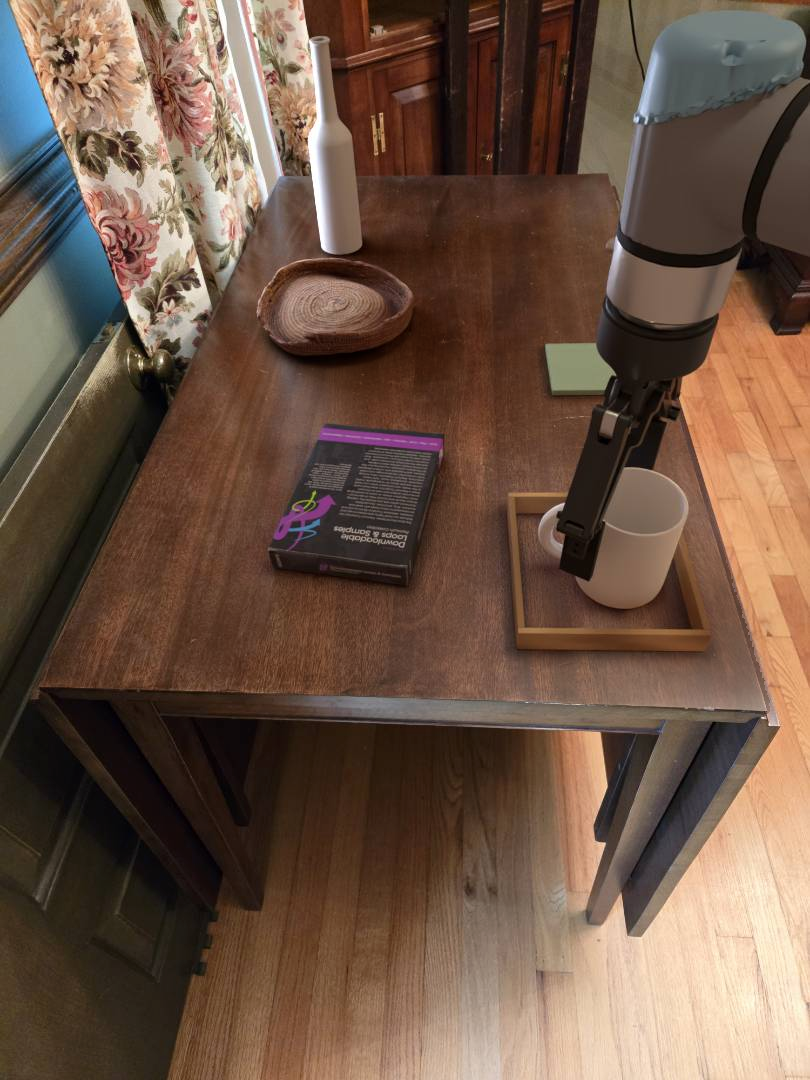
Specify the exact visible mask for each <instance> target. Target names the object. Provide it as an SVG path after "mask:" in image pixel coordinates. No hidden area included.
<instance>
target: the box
mask: <svg viewBox="0 0 810 1080" xmlns="http://www.w3.org/2000/svg"><path fill="white" fill-rule="evenodd" d="M444 455H445V433H443V432H428V431H427V432H426V431H416V430H415V431H414V430H402V429H391V428H382V427H369V426H358V425H356V426H355V425H348V424H347V425H346V424H337V423H329V422H326V423H325V422H324V423H323V425H322V427H321V430H320V433H319V435H318V437H317V439H316V441H315V443H314V446H313V448H312V450H311V453H310V455H309V456H308V459H307V461H306V464H305V465H304V468H303V470H302V473H301V475H300V476H299V479H298V481H297V483H296V485H295V488H294V489H293V492H292V495H291V497H290V499H289V501H288V503H287V505H286V508H285V510H284V513H283V514H282V517H281V519H280V521H279V523H278V525H277V528H276V530H275V532H274V534H273V537H272V538H271V540H270V543H269V545H268V547H267V553H268V556H269V559H270V562H271V565H272V567H273V568H274V569H280V570H281V569H282V570H287V571H297V572H305V573H312V574H320V575H327V576H335V577H341V578H349V579H356V580H364V581H372V582H379V583H387V584H393V585H400V586H408V585H409V583H410V579H411V575H412V572H413V569H414V565H415V561H416V557H417V555H418V551H419V546H420V543H421V539H422V536H423V531H424V527H425V525H426V522H427V517H428V515H429V510H430V507H431V503H432V499H433V496H434V492H435V489H436V485H437V481H438V477H439V472H440V469H441V465H442V462H443V458H444Z"/></svg>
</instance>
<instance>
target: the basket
mask: <svg viewBox="0 0 810 1080" xmlns="http://www.w3.org/2000/svg"><path fill="white" fill-rule="evenodd" d="M414 305H415V301H414V294H413V292H412V291H411V289H410V288H409V287H408V286H407V285H406V284H405V283H404V282H402V280H401V279H400V278H399V277H397V276H395V275H394V274H393V273H391V272H389V271H387V270H386V269H384V268H382V267H379V266H378V265H374V264H372V263H366V262H364V261H360V260H358V261H357V260H354V261H352V260H349V259H346V258H341V257H340V258H339V257H321V258H310V259H308V258H305V259H301V260H296V261H294V262H292V263H289V264H287V265H284V266H282V267H280V268H279V269H278V270H277V271H276V272H275V274H274V275H273V277H272V280H270V281H269V283H268V284H267V286H265V287H264V289H263V291H262V293H261V295H260V298H259V299H258V300H257V307H256V317H257V319H258V321H259V323H260V324H261V326H262V327H263V330H264V331H265V333H266V334H267V336H268V338H270V339H271V340H272V342H274V343H275V344H276V345H277V346H278V347H280V348H281V349H283V351H285V352H287V353H290V354H293V355H295V356H302V357H305V356H324V355H325V356H326V355H327V356H328V355H334V354H335V355H336V354H348V353H349V354H350V353H356V352H360V351H365V350H372V349H376V348H378V347H380V346H383V345H385V344H386V343H389V342H391V341H393V340H394V339H395V338H396V337H398V336H399V335H400V334H402V332H403V331H404V330H405V329H407V327H408V326H409V323H410V321H411V318H412V315H413V311H414V310H413V309H414Z"/></svg>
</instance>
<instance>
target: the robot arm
mask: <svg viewBox="0 0 810 1080" xmlns="http://www.w3.org/2000/svg"><path fill="white" fill-rule="evenodd" d="M806 47H807V38H806V35H805V31H804V30H803V29H802V26H800V25H799V24H798V23H796V22H794V21H793V20H789V19H786V18H785V19H783V18H779V17H778V15H775V14H771V13H767V12H766V13H765V12H760V11H751V10H736V9H735V10H733V9H732V10H712V11H703V12H697V13H692V14H689V15H686V16H684V17H682V18H680V19H678V20H674V21H673V22H671V23H669V24H668V25H667V26H666V27H665V28H664V29H663V30H662V31H661V32H660V33H659V35H658V36H657V37H656V40H655V41H654V44H653V46H652V49H651V53H650V58H649V62H648V65H647V70H646V74H645V78H644V83H643V86H642V89H641V90H642V91H641V94H640V99H639V103H638V107H637V110H636V112H635V113H634V114H633V122H632V123H633V124H635V125H634V131H633V138H632V143H631V149H630V153H629V154H630V155H629V160H628V167H627V174H626V179H625V186H624V190H623V191H624V192H623V197H622V202H621V209H620V216H619V217H618V222H617V227H616V234H615V237H610V238H609V240H608V241H607V243H606V244H605V251H606V252H607V253H608V254H610V255H612V258H611V264H610V265H609V266H610V267H609V271H608V277H607V282H606V291H605V292H606V296H604V298H603V301H602V304H601V310H600V317H599V322H598V326H597V332H596V337H595V343H596V347H597V350H598V353H599V354H600V356H601V358H602V359H603V360H604V361H605V362H606V363H607V364H608V365H609V366H610V367H611V368H612V369H613V371H614V372H615V374H616V376H615V375H612V376H611V377H610V379H609V381H608V384H607V386H606V389H605V391H604V395H603V396H604V401H603V403H602V404H601V403H597V404H596V405H595V407H594V408H593V409H592V411H591V414H590V415H591V417H590V423H589V426H588V431H587V433H586V434H587V435H586V437H585V441H584V444H583V447H582V450H581V453H580V455H579V459H578V462H577V464H576V469H575V471H574V474H573V477H572V481H571V483H570V486H569V490H568V492H567V493H568V495H567V498H566V501H565V504H564V507H563V510H561V511H557V515H556V518H558V519H559V521H558V523H557V524H556V527H555V529H556V532H558V533H561V534H563V535H564V539H563V542H562V543H563V544H562V545H563V548H562V554H561V559H559V564H558V570H560V571H563V572H565V573H567V574H569V575H572V576H574V577H575V576H576V577H579V578H581V579H583V580H586V581H588V582H589V581H590V579H591V578H592V576H593V572H594V568H595V564H596V560H597V556H598V552H599V548H600V544H601V540H602V536H603V532H604V528H605V524H606V522H605V521H603V518H604V516H605V513H606V511H607V508H608V506H609V504H610V501H611V499H612V496H613V494H614V491H615V489H616V486H617V484H618V481H619V479H620V477H621V474H622V472H623V469H624V468H626V467H634V468H643V469H648V470H652V471H654V469H655V465H656V461H657V459H658V455H659V451H660V447H661V445H662V441H663V438H664V434H665V432H666V428H667V425H668V422H667V421H665V420H663V418H664V419H667V420H670V421H673V422H676V421H677V420H678V418H679V416H680V413H681V410H682V407H679V406H675V405H673V402H677V400H678V399H679V398H680V397H681V394H682V391H681V389H682V383H683V377H686V376H689V375H690V374H693V373H695V371H697V370H698V369H699V368H700V367H701V366H703V364H704V363H705V361H706V359H707V357H708V354H709V352H710V351H709V350H710V348H711V344H712V341H713V338H714V335H715V332H716V330H717V327H718V323H719V319H720V313H719V312H721V311H722V310H723V308H724V306H725V304H726V301H727V297H728V294H729V291H730V289H731V286H732V282H733V279H734V276H735V272H736V270H737V267H738V263H739V260H740V257H741V254H742V250H743V245H744V243H745V238H748V239H751V240H754V241H757V242H760V243H767V244H769V245H773V246H775V247H778V248H781V249H784V250H787V251H790V252H793V253H797V254H799V255H803V256H806V257H809V258H810V79H806V78H803V77H801V75H802V72H803V69H804V65H805V63H804V61H803V57H804V55H805V51H806Z"/></svg>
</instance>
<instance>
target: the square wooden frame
mask: <svg viewBox="0 0 810 1080" xmlns="http://www.w3.org/2000/svg"><path fill="white" fill-rule="evenodd" d="M567 495H568V492H508V493H507V503H506V517H507V518H506V519H507V530H508V546H509V562H510V573H511V574H510V577H511V590H512V591H511V593H512V605H513V617H514V618H513V620H514V634H515V635H514V636H515V648H516V650H559V651H560V650H563V651H564V650H565V651H566V650H568V651H637V652H639V651H640V652H641V651H642V652H643V651H645V652H647V651H648V652H705V651H706V649H707V647H708V644H709V643H710V640H711V639H712V636H713V633H712V630H711V627H710V623H709V620H708V616H707V613H706V609H705V606H704V603H703V598H702V595H701V591H700V588H699V585H698V581H697V578H696V574H695V570H694V568H693V564H692V560H691V557H690V553H689V549H688V546H687V543H686V539H685V536H684V532H683V531H682V533H681V535H680V538H679V541H678V544H677V547H676V550H675V553H674V555H673V558H672V561H673V563H674V567H675V570H676V574H677V578H678V583H679V586H680V589H681V594H682V597H683V601H684V604H685V605H684V606H685V608H686V612H687V616H688V619H689V623H690V627H691V629H681V628H680V629H679V628H678V629H677V628H675V629H673V628H670V629H669V628H596V627H595V628H585V627H584V628H583V627H578V628H577V627H526V624H525V611H524V599H523V598H524V597H523V586H522V575H521V574H522V573H521V562H520V548H519V537H518V536H519V535H518V525H517V524H518V523H517V514H546V513H547V512H548V511H549V510H551V509H552V508H554V507H555V506H557V505H559V504H562V503H565V501H566V498H567Z"/></svg>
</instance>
